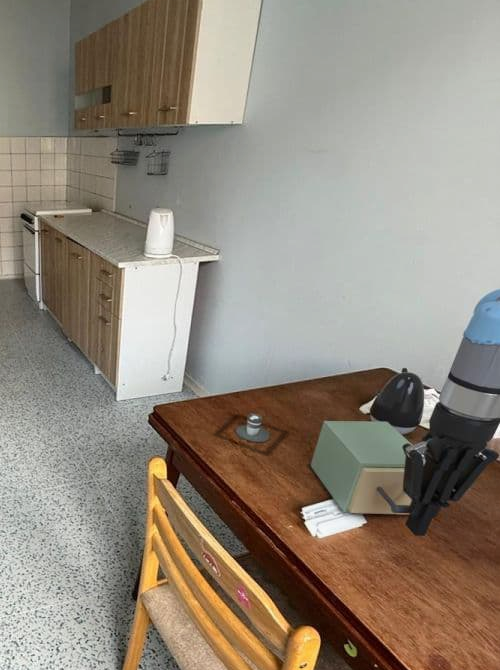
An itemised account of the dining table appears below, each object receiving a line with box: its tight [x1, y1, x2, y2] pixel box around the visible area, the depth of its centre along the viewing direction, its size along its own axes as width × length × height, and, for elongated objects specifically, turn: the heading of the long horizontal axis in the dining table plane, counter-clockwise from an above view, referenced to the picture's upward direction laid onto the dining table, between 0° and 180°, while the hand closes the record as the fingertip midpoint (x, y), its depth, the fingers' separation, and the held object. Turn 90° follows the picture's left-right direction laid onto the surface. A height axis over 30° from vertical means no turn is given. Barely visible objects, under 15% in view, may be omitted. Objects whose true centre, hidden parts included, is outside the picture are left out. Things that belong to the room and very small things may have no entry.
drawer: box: [348, 467, 412, 515], centre depth 89 cm, size 20×11×10 cm, turn 177°
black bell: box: [369, 367, 425, 436], centre depth 112 cm, size 10×10×15 cm
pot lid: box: [235, 412, 271, 443], centre depth 113 cm, size 12×12×5 cm
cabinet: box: [310, 420, 425, 513], centre depth 93 cm, size 15×13×12 cm
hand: (414, 529), depth 80 cm, fingers closed
